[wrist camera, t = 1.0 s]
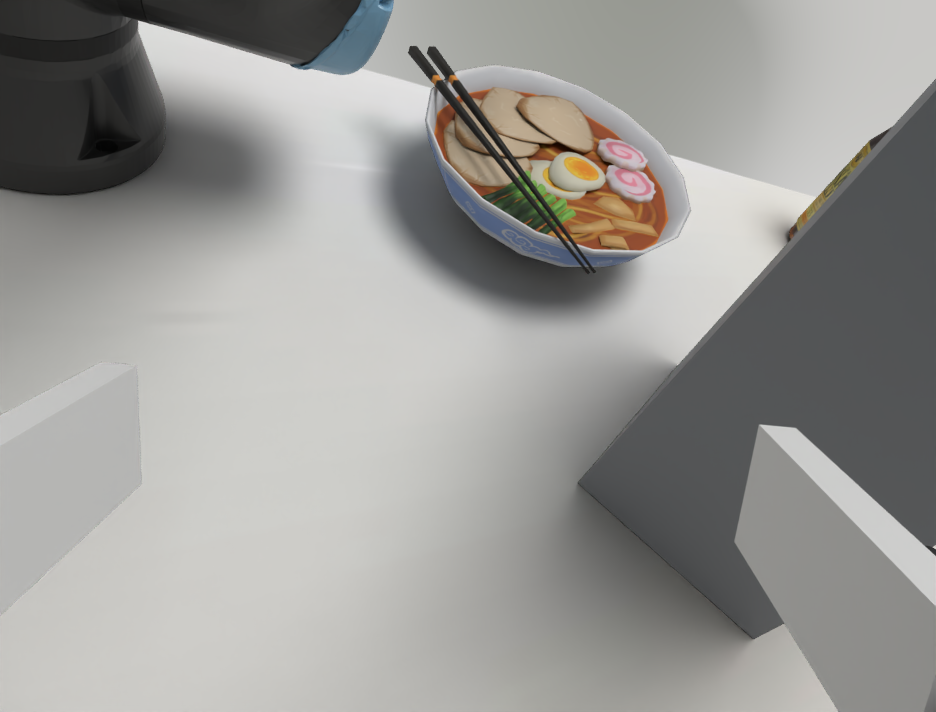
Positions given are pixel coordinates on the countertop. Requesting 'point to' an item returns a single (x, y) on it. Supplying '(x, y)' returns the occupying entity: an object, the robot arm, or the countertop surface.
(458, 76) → the ramen bowl
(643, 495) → the block
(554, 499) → the countertop surface
